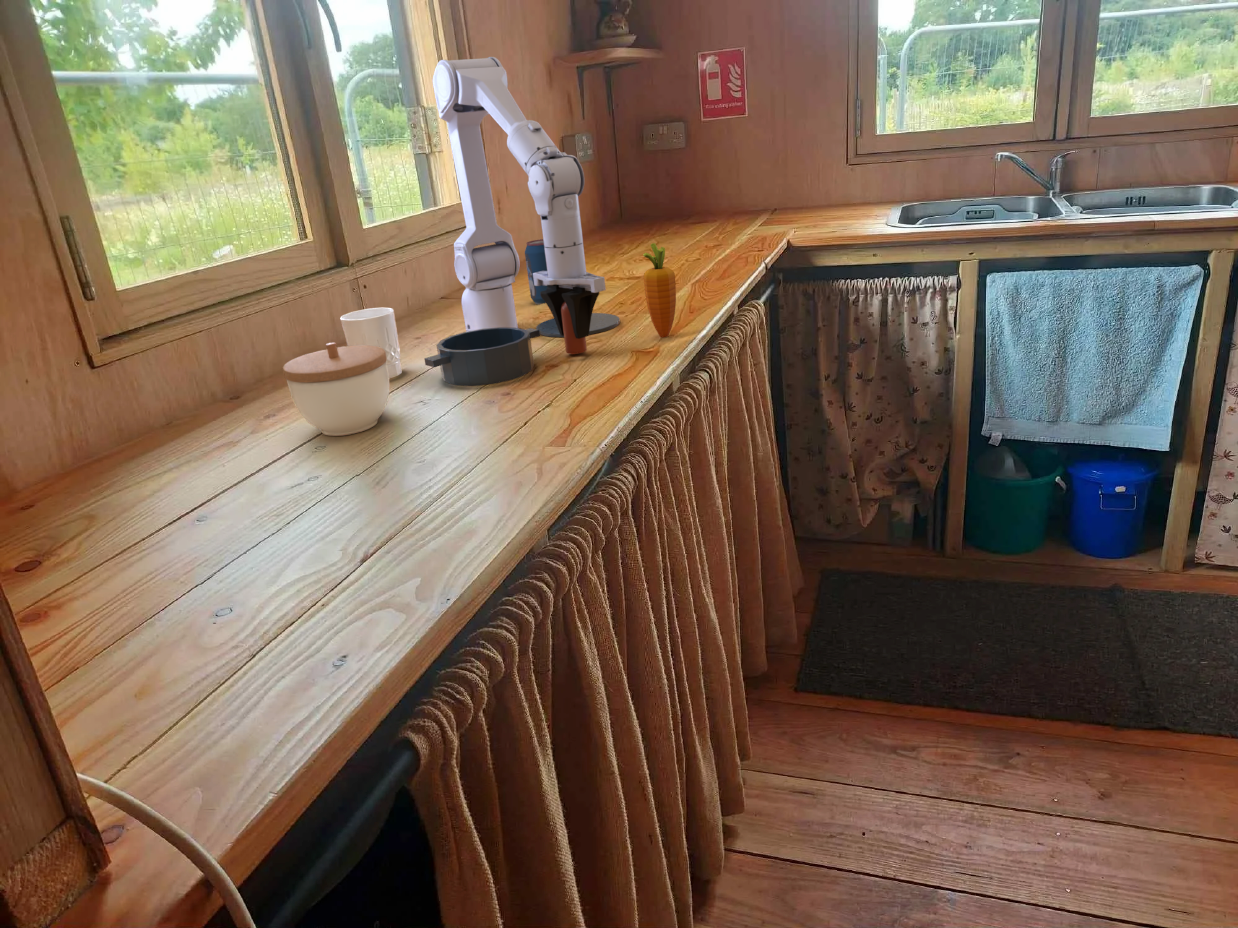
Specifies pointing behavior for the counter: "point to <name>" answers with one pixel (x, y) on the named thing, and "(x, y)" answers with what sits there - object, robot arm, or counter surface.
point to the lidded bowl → (340, 387)
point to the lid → (597, 325)
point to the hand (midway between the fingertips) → (574, 335)
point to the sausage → (571, 334)
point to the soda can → (535, 267)
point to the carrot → (660, 292)
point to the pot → (485, 356)
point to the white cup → (374, 333)
